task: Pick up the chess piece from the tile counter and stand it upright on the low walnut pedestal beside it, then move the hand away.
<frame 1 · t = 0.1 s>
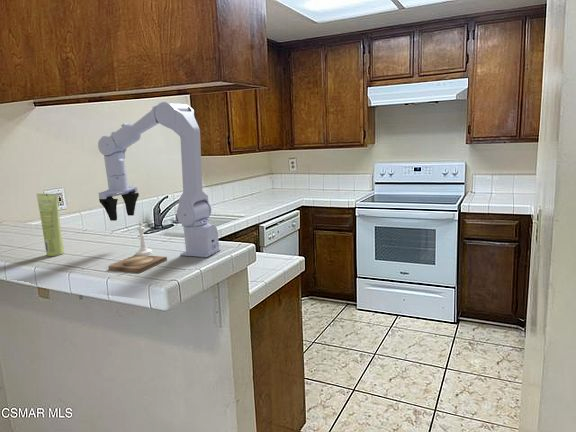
hand: (122, 217, 139), 10 cm above the counter, tool pointing down, fingers open, 7 cm apart
tube: (56, 255, 139), on the counter
pedestal: (138, 264, 122), on the counter
chess piece: (144, 254, 134), on the counter
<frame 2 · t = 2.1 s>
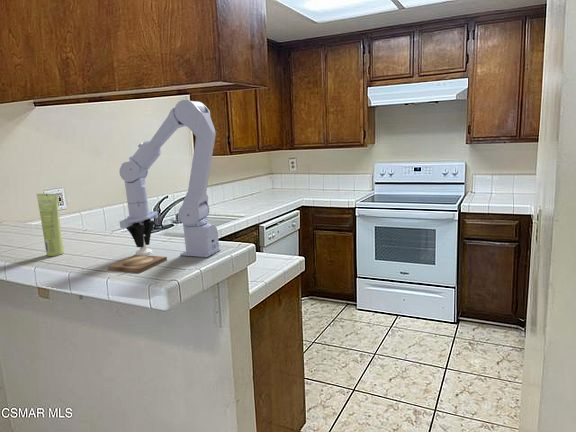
hand: (143, 245, 133), 2 cm above the counter, tool pointing down, fingers closed on chess piece, 2 cm apart
chess piece: (144, 254, 134), on the counter, touching gripper
everything else where it was.
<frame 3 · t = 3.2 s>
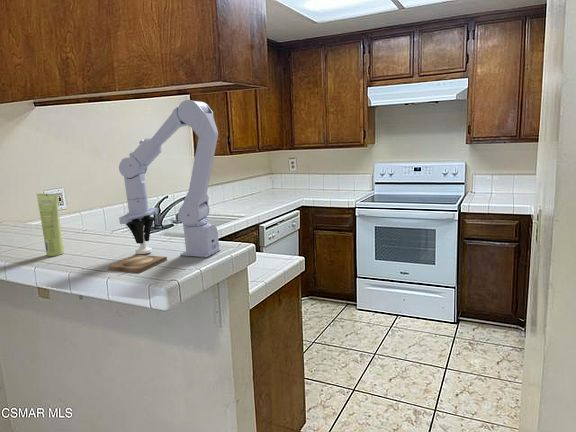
hand: (142, 242, 133), 4 cm above the counter, tool pointing down, fingers closed on chess piece
chess piece: (143, 252, 134), on the counter, touching gripper
everything else where it was.
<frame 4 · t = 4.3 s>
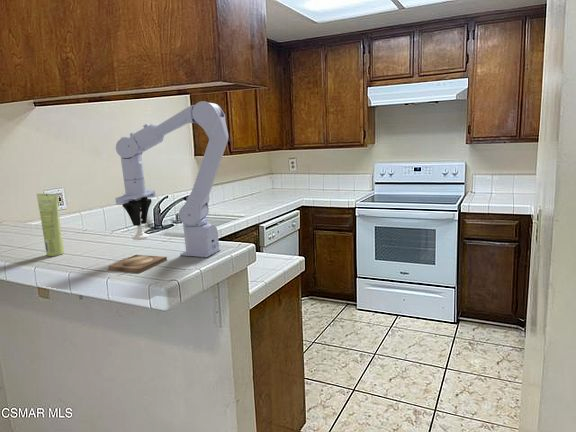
hand: (139, 224, 131), 9 cm above the counter, tool pointing down, fingers closed on chess piece, 2 cm apart
chess piece: (140, 238, 132), point 5 cm above the counter, touching gripper
everything else where it was.
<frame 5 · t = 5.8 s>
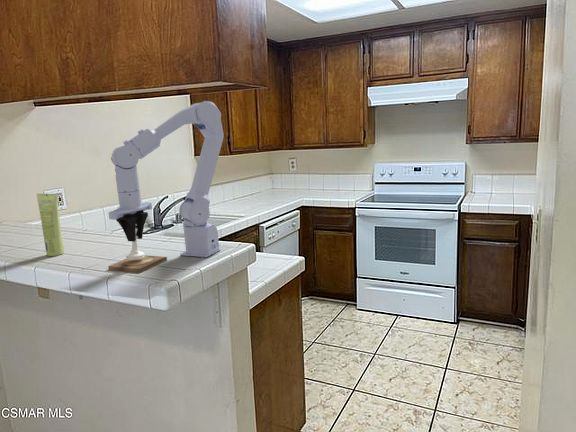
hand: (135, 239, 121), 7 cm above the counter, tool pointing down, fingers closed on chess piece, 2 cm apart
chess piece: (135, 257, 122), point 2 cm above the counter, touching gripper
everything else where it was.
when the fingers open (5 cm above the counter, at t = 6.5 s): chess piece stays where it is, resting on pedestal.
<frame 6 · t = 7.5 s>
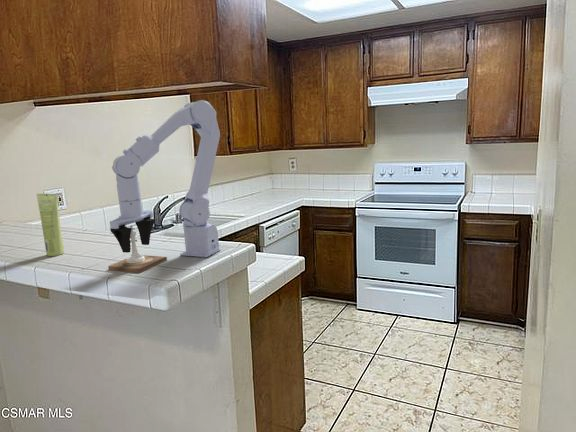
hand: (136, 248, 121), 5 cm above the counter, tool pointing down, fingers open, 7 cm apart
chess piece: (135, 261, 123), point 1 cm above the counter, touching pedestal
everything else where it was.
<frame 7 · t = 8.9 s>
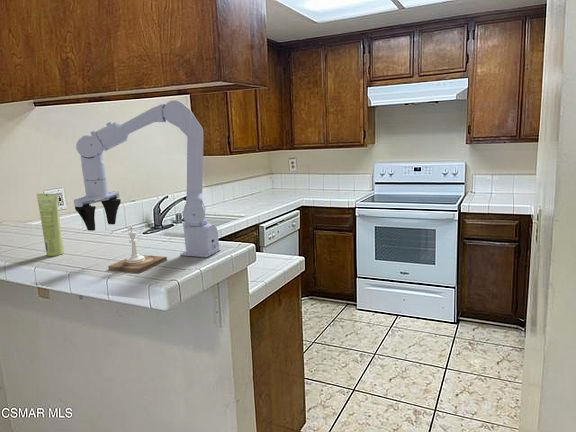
hand: (101, 227, 125), 10 cm above the counter, tool pointing down, fingers open, 7 cm apart
nothing on the counter moved.
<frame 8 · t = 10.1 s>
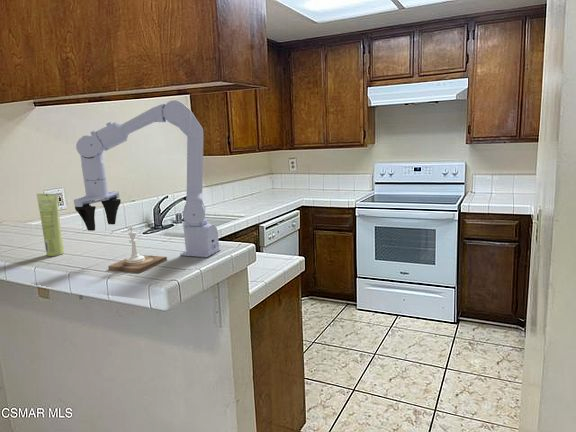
hand: (101, 227, 125), 10 cm above the counter, tool pointing down, fingers open, 7 cm apart
nothing on the counter moved.
at the end: chess piece 0.8 cm from the pedestal (horizontally); chess piece point 1.0 cm above the counter; chess piece tilted 0° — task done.
